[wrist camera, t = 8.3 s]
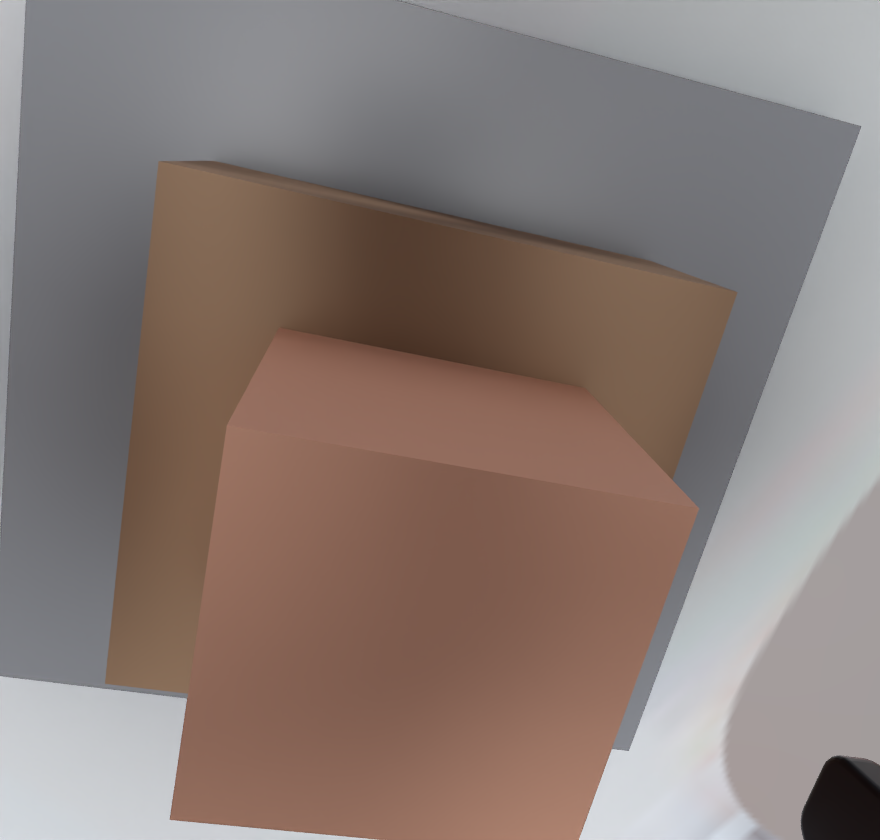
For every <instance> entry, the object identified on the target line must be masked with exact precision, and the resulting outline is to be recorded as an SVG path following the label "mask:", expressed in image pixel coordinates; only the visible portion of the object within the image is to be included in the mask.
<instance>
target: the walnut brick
mask: <svg viewBox="0 0 880 840" xmlns="http://www.w3.org/2000/svg"><path fill="white" fill-rule="evenodd" d="M737 293H738V292H736V291H733V290H730V289H727V288H725V287H722V286H719V285H716V284H713V283H711V282H708V281H705V280H702V279H699V278H697V277H694V276H691V275H688V274H686V273H683V272H680V271H677V270H674V269H672V268H669V267H666V266H663V265H660V264H658V263H655V262H652V261H649V260H645V259H641V258H636V257H632V256H627V255H623V254H619V253H614V252H610V251H606V250H601V249H597V248H593V247H588V246H584V245H579V244H575V243H571V242H566V241H562V240H558V239H553V238H549V237H544V236H540V235H536V234H531V233H527V232H523V231H518V230H514V229H510V228H505V227H501V226H496V225H492V224H488V223H483V222H479V221H475V220H470V219H466V218H462V217H457V216H453V215H448V214H444V213H440V212H435V211H431V210H427V209H422V208H418V207H413V206H409V205H405V204H400V203H396V202H392V201H387V200H383V199H379V198H374V197H370V196H365V195H361V194H357V193H352V192H348V191H344V190H339V189H335V188H331V187H326V186H322V185H317V184H313V183H309V182H304V181H300V180H296V179H291V178H287V177H282V176H278V175H274V174H269V173H265V172H261V171H256V170H252V169H248V168H243V167H239V166H234V165H230V164H226V163H221V162H217V161H158V171H157V181H156V191H155V200H154V210H153V220H152V230H151V239H150V249H149V259H148V269H147V278H146V288H145V298H144V308H143V317H142V327H141V337H140V346H139V356H138V366H137V376H136V385H135V395H134V405H133V415H132V424H131V434H130V444H129V454H128V463H127V473H126V483H125V493H124V502H123V512H122V522H121V532H120V541H119V551H118V561H117V571H116V580H115V590H114V600H113V610H112V619H111V629H110V639H109V649H108V658H107V668H106V678H105V684H111V685H119V686H127V687H136V688H144V689H152V690H161V691H169V692H177V693H186V694H188V690H189V683H190V676H191V669H192V662H193V656H194V649H195V642H196V635H197V628H198V621H199V614H200V607H201V600H202V593H203V586H204V579H205V573H206V566H207V559H208V552H209V545H210V538H211V531H212V524H213V517H214V510H215V503H216V496H217V490H218V483H219V476H220V469H221V462H222V455H223V448H224V441H225V434H226V427H227V424H228V422H229V420H230V418H231V416H232V415H233V413H234V411H235V409H236V407H237V405H238V403H239V402H240V400H241V398H242V396H243V394H244V392H245V390H246V388H247V387H248V385H249V383H250V381H251V379H252V377H253V375H254V373H255V372H256V370H257V368H258V366H259V364H260V362H261V360H262V359H263V357H264V355H265V353H266V351H267V349H268V347H269V345H270V344H271V342H272V340H273V338H274V336H275V334H276V332H277V330H278V329H279V328H284V329H289V330H294V331H299V332H304V333H309V334H314V335H319V336H324V337H329V338H334V339H340V340H345V341H350V342H355V343H360V344H365V345H370V346H375V347H380V348H385V349H390V350H395V351H400V352H405V353H410V354H415V355H420V356H425V357H430V358H435V359H441V360H446V361H451V362H456V363H461V364H466V365H471V366H476V367H481V368H486V369H491V370H496V371H501V372H506V373H511V374H516V375H521V376H526V377H531V378H536V379H542V380H547V381H552V382H557V383H562V384H567V385H572V386H577V387H582V388H586V389H587V391H588V392H589V393H590V394H591V395H592V396H593V397H594V398H595V399H596V400H597V401H598V402H599V403H600V404H601V405H602V406H603V407H604V408H605V410H606V411H607V412H608V413H609V414H610V415H611V416H612V417H613V418H614V419H615V420H616V421H617V422H618V423H619V424H620V425H621V426H622V427H623V429H624V430H625V431H626V432H627V433H628V434H629V435H630V436H631V437H632V438H633V439H634V440H635V441H636V442H637V443H638V444H639V445H640V446H641V448H642V449H643V450H644V451H645V452H646V453H647V454H648V455H649V456H650V457H651V458H652V459H653V460H654V461H655V462H656V463H657V464H658V465H659V467H660V468H661V469H662V470H663V471H664V472H665V473H666V474H667V475H668V476H669V477H670V478H671V479H672V480H673V477H674V474H675V471H676V468H677V466H678V463H679V460H680V457H681V454H682V451H683V448H684V445H685V442H686V440H687V437H688V434H689V431H690V428H691V425H692V422H693V419H694V417H695V414H696V411H697V408H698V405H699V402H700V399H701V396H702V393H703V391H704V388H705V385H706V382H707V379H708V376H709V373H710V370H711V368H712V365H713V362H714V359H715V356H716V353H717V350H718V347H719V344H720V342H721V339H722V336H723V333H724V330H725V327H726V324H727V321H728V319H729V316H730V313H731V310H732V307H733V304H734V301H735V298H736V295H737Z"/></svg>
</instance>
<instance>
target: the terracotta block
mask: <svg viewBox="0 0 880 840" xmlns="http://www.w3.org/2000/svg"><path fill="white" fill-rule="evenodd" d="M698 510H699V508H698V507H697V506H696V504H695V503H694V502H693V501H692V500H691V499H690V498H689V497H688V496H687V495H686V494H685V493H684V492H683V491H682V490H681V489H680V488H679V487H678V485H677V484H676V483H675V482H674V481H673V480H672V479H671V478H670V477H669V476H668V475H667V474H666V473H665V472H664V471H663V470H662V469H661V468H660V467H659V465H658V464H657V463H656V462H655V461H654V460H653V459H652V458H651V457H650V456H649V455H648V454H647V453H646V452H645V451H644V450H643V449H642V448H641V446H640V445H639V444H638V443H637V442H636V441H635V440H634V439H633V438H632V437H631V436H630V435H629V434H628V433H627V432H626V431H625V430H624V429H623V427H622V426H621V425H620V424H619V423H618V422H617V421H616V420H615V419H614V418H613V417H612V416H611V415H610V414H609V413H608V412H607V411H606V410H605V408H604V407H603V406H602V405H601V404H600V403H599V402H598V401H597V400H596V399H595V398H594V397H593V396H592V395H591V394H590V393H589V392H588V391H587V389H586V388H582V387H577V386H572V385H567V384H562V383H557V382H552V381H547V380H542V379H536V378H531V377H526V376H521V375H516V374H511V373H506V372H501V371H496V370H491V369H486V368H481V367H476V366H471V365H466V364H461V363H456V362H451V361H446V360H441V359H435V358H430V357H425V356H420V355H415V354H410V353H405V352H400V351H395V350H390V349H385V348H380V347H375V346H370V345H365V344H360V343H355V342H350V341H345V340H340V339H334V338H329V337H324V336H319V335H314V334H309V333H304V332H299V331H294V330H289V329H284V328H279V329H278V330H277V332H276V334H275V336H274V338H273V340H272V342H271V344H270V345H269V347H268V349H267V351H266V353H265V355H264V357H263V359H262V360H261V362H260V364H259V366H258V368H257V370H256V372H255V373H254V375H253V377H252V379H251V381H250V383H249V385H248V387H247V388H246V390H245V392H244V394H243V396H242V398H241V400H240V402H239V403H238V405H237V407H236V409H235V411H234V413H233V415H232V416H231V418H230V420H229V422H228V424H227V427H226V434H225V441H224V448H223V455H222V462H221V469H220V476H219V483H218V490H217V496H216V503H215V510H214V517H213V524H212V531H211V538H210V545H209V552H208V559H207V566H206V573H205V579H204V586H203V593H202V600H201V607H200V614H199V621H198V628H197V635H196V642H195V649H194V656H193V662H192V669H191V676H190V683H189V690H188V697H187V704H186V711H185V718H184V725H183V732H182V738H181V745H180V752H179V759H178V766H177V773H176V780H175V787H174V794H173V801H172V808H171V815H170V820H177V821H188V822H199V823H209V824H220V825H230V826H241V827H252V828H262V829H273V830H284V831H294V832H305V833H315V834H326V835H337V836H347V837H358V838H368V839H379V840H579V837H580V835H581V832H582V829H583V826H584V824H585V821H586V818H587V815H588V813H589V810H590V807H591V804H592V802H593V799H594V796H595V793H596V791H597V788H598V785H599V782H600V780H601V777H602V774H603V771H604V769H605V766H606V763H607V760H608V758H609V755H610V752H611V750H612V747H613V744H614V741H615V739H616V736H617V733H618V730H619V728H620V725H621V722H622V719H623V717H624V714H625V711H626V708H627V706H628V703H629V700H630V697H631V695H632V692H633V689H634V686H635V684H636V681H637V678H638V675H639V673H640V670H641V667H642V664H643V662H644V659H645V656H646V653H647V651H648V648H649V645H650V642H651V640H652V637H653V634H654V631H655V629H656V626H657V623H658V620H659V618H660V615H661V612H662V609H663V607H664V604H665V601H666V598H667V596H668V593H669V590H670V587H671V585H672V582H673V579H674V576H675V574H676V571H677V568H678V565H679V563H680V560H681V557H682V554H683V552H684V549H685V546H686V543H687V541H688V538H689V535H690V532H691V530H692V527H693V524H694V521H695V519H696V516H697V513H698Z"/></svg>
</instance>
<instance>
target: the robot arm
mask: <svg viewBox="0 0 880 840" xmlns="http://www.w3.org/2000/svg"><path fill="white" fill-rule="evenodd" d="M801 830H802V835H803V839H804V840H880V765H878V764H877V763H875V762H873V761H870V760H868V759H864V758H856V757H847V756H834V757H831V758H830V759H829V760H828V761H826V763H825V764H824V766H823V768H822V770H821V772H820V774H819V776H818V778H817V781H816V783H815V785H814V787H813V789H812V791H811V793H810V795H809V798H808V800H807V802H806V804H805V806H804V808H803V811H802V815H801Z"/></svg>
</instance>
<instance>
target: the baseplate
mask: <svg viewBox="0 0 880 840" xmlns="http://www.w3.org/2000/svg"><path fill="white" fill-rule="evenodd" d="M860 129H861V126H858V125H854V124H850V123H847V122H843V121H839V120H836V119H832V118H828V117H825V116H821V115H817V114H814V113H810V112H806V111H803V110H799V109H795V108H792V107H788V106H784V105H781V104H777V103H773V102H770V101H766V100H762V99H759V98H755V97H751V96H747V95H744V94H740V93H736V92H733V91H729V90H725V89H722V88H718V87H714V86H711V85H707V84H703V83H700V82H696V81H692V80H689V79H685V78H681V77H678V76H674V75H670V74H667V73H663V72H659V71H656V70H652V69H648V68H644V67H641V66H637V65H633V64H630V63H626V62H622V61H619V60H615V59H611V58H608V57H604V56H600V55H597V54H593V53H589V52H586V51H582V50H578V49H575V48H571V47H567V46H564V45H560V44H556V43H553V42H549V41H545V40H541V39H538V38H534V37H530V36H527V35H523V34H519V33H516V32H512V31H508V30H505V29H501V28H497V27H494V26H490V25H486V24H483V23H479V22H475V21H472V20H468V19H464V18H461V17H457V16H453V15H450V14H446V13H442V12H438V11H435V10H431V9H427V8H424V7H420V6H416V5H413V4H409V3H405V2H402V1H398V0H26V12H25V33H24V54H23V74H22V95H21V116H20V137H19V158H18V179H17V200H16V221H15V242H14V263H13V284H12V305H11V326H10V346H9V367H8V388H7V409H6V430H5V451H4V472H3V493H2V514H1V535H0V676H4V677H12V678H21V679H29V680H37V681H46V682H54V683H63V684H71V685H79V686H88V687H96V688H105V689H113V690H121V691H130V692H138V693H147V694H155V695H163V696H172V697H180V698H187V697H188V694H186V693H177V692H169V691H161V690H152V689H144V688H136V687H127V686H119V685H111V684H105V678H106V668H107V658H108V649H109V639H110V629H111V619H112V610H113V600H114V590H115V580H116V571H117V561H118V551H119V541H120V532H121V522H122V512H123V502H124V493H125V483H126V473H127V463H128V454H129V444H130V434H131V424H132V415H133V405H134V395H135V385H136V376H137V366H138V356H139V346H140V337H141V327H142V317H143V308H144V298H145V288H146V278H147V269H148V259H149V249H150V239H151V230H152V220H153V210H154V200H155V191H156V181H157V171H158V161H217V162H221V163H226V164H230V165H234V166H239V167H243V168H248V169H252V170H256V171H261V172H265V173H269V174H274V175H278V176H282V177H287V178H291V179H296V180H300V181H304V182H309V183H313V184H317V185H322V186H326V187H331V188H335V189H339V190H344V191H348V192H352V193H357V194H361V195H365V196H370V197H374V198H379V199H383V200H387V201H392V202H396V203H400V204H405V205H409V206H413V207H418V208H422V209H427V210H431V211H435V212H440V213H444V214H448V215H453V216H457V217H462V218H466V219H470V220H475V221H479V222H483V223H488V224H492V225H496V226H501V227H505V228H510V229H514V230H518V231H523V232H527V233H531V234H536V235H540V236H544V237H549V238H553V239H558V240H562V241H566V242H571V243H575V244H579V245H584V246H588V247H593V248H597V249H601V250H606V251H610V252H614V253H619V254H623V255H627V256H632V257H636V258H641V259H645V260H649V261H652V262H655V263H658V264H660V265H663V266H666V267H669V268H672V269H674V270H677V271H680V272H683V273H686V274H688V275H691V276H694V277H697V278H699V279H702V280H705V281H708V282H711V283H713V284H716V285H719V286H722V287H725V288H727V289H730V290H733V291H736V292H738V293H737V295H736V298H735V301H734V304H733V307H732V310H731V313H730V316H729V319H728V321H727V324H726V327H725V330H724V333H723V336H722V339H721V342H720V344H719V347H718V350H717V353H716V356H715V359H714V362H713V365H712V368H711V370H710V373H709V376H708V379H707V382H706V385H705V388H704V391H703V393H702V396H701V399H700V402H699V405H698V408H697V411H696V414H695V417H694V419H693V422H692V425H691V428H690V431H689V434H688V437H687V440H686V442H685V445H684V448H683V451H682V454H681V457H680V460H679V463H678V466H677V468H676V471H675V474H674V477H673V481H674V482H675V483H676V484H677V485H678V487H679V488H680V489H681V490H682V491H683V492H684V493H685V494H686V495H687V496H688V497H689V498H690V499H691V500H692V501H693V502H694V503H695V504H696V506H697V507H698V508H699V510H698V513H697V516H696V519H695V521H694V524H693V527H692V530H691V532H690V535H689V538H688V541H687V543H686V546H685V549H684V552H683V554H682V557H681V560H680V563H679V565H678V568H677V571H676V574H675V576H674V579H673V582H672V585H671V587H670V590H669V593H668V596H667V598H666V601H665V604H664V607H663V609H662V612H661V615H660V618H659V620H658V623H657V626H656V629H655V631H654V634H653V637H652V640H651V642H650V645H649V648H648V651H647V653H646V656H645V659H644V662H643V664H642V667H641V670H640V673H639V675H638V678H637V681H636V684H635V686H634V689H633V692H632V695H631V697H630V700H629V703H628V706H627V708H626V711H625V714H624V717H623V719H622V722H621V725H620V728H619V730H618V733H617V736H616V739H615V741H614V744H613V747H612V749H617V750H626V751H629V749H630V746H631V744H632V741H633V738H634V735H635V733H636V730H637V727H638V725H639V722H640V719H641V717H642V714H643V711H644V709H645V706H646V703H647V701H648V698H649V695H650V693H651V690H652V687H653V684H654V682H655V679H656V676H657V674H658V671H659V668H660V666H661V663H662V660H663V658H664V655H665V652H666V650H667V647H668V644H669V642H670V639H671V636H672V633H673V631H674V628H675V625H676V623H677V620H678V617H679V615H680V612H681V609H682V607H683V604H684V601H685V599H686V596H687V593H688V591H689V588H690V585H691V582H692V580H693V577H694V574H695V572H696V569H697V566H698V564H699V561H700V558H701V556H702V553H703V550H704V548H705V545H706V542H707V540H708V537H709V534H710V531H711V529H712V526H713V523H714V521H715V518H716V515H717V513H718V510H719V507H720V505H721V502H722V499H723V497H724V494H725V491H726V488H727V486H728V483H729V480H730V478H731V475H732V472H733V470H734V467H735V464H736V462H737V459H738V456H739V454H740V451H741V448H742V446H743V443H744V440H745V437H746V435H747V432H748V429H749V427H750V424H751V421H752V419H753V416H754V413H755V411H756V408H757V405H758V403H759V400H760V397H761V395H762V392H763V389H764V386H765V384H766V381H767V378H768V376H769V373H770V370H771V368H772V365H773V362H774V360H775V357H776V354H777V352H778V349H779V346H780V344H781V341H782V338H783V335H784V333H785V330H786V327H787V325H788V322H789V319H790V317H791V314H792V311H793V309H794V306H795V303H796V301H797V298H798V295H799V293H800V290H801V287H802V284H803V282H804V279H805V276H806V274H807V271H808V268H809V266H810V263H811V260H812V258H813V255H814V252H815V250H816V247H817V244H818V241H819V239H820V236H821V233H822V231H823V228H824V225H825V223H826V220H827V217H828V215H829V212H830V209H831V207H832V204H833V201H834V199H835V196H836V193H837V190H838V188H839V185H840V182H841V180H842V177H843V174H844V172H845V169H846V166H847V164H848V161H849V158H850V156H851V153H852V150H853V148H854V145H855V142H856V139H857V137H858V134H859V131H860Z"/></svg>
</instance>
